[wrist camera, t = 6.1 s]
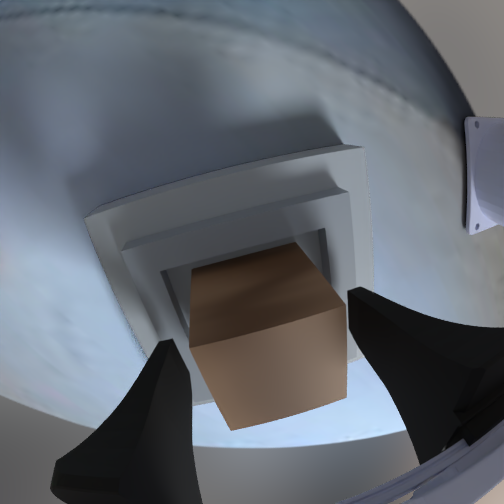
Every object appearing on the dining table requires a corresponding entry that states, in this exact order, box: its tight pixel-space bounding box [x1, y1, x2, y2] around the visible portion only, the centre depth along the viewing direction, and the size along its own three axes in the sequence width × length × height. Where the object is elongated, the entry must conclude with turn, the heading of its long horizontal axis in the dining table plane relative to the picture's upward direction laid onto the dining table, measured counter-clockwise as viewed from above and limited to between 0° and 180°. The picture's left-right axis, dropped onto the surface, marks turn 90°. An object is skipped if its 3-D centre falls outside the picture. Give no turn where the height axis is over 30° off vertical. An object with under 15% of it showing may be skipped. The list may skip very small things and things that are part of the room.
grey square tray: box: [84, 144, 374, 406], centre depth 14 cm, size 12×12×3 cm
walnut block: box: [189, 242, 347, 431], centre depth 11 cm, size 4×4×5 cm
